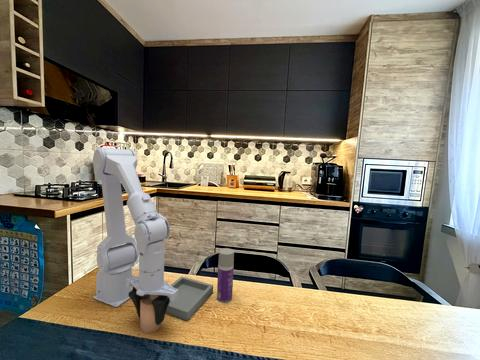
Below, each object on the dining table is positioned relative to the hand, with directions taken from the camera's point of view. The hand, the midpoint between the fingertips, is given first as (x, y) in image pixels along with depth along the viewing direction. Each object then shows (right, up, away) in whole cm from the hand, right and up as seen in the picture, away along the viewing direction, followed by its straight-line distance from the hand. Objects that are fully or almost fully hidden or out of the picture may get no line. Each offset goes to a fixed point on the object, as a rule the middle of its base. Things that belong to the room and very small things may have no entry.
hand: (151, 318), depth 56 cm
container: (+18, -2, +13) cm, 22 cm away
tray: (+6, -1, +11) cm, 12 cm away
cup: (0, -2, 0) cm, 2 cm away
